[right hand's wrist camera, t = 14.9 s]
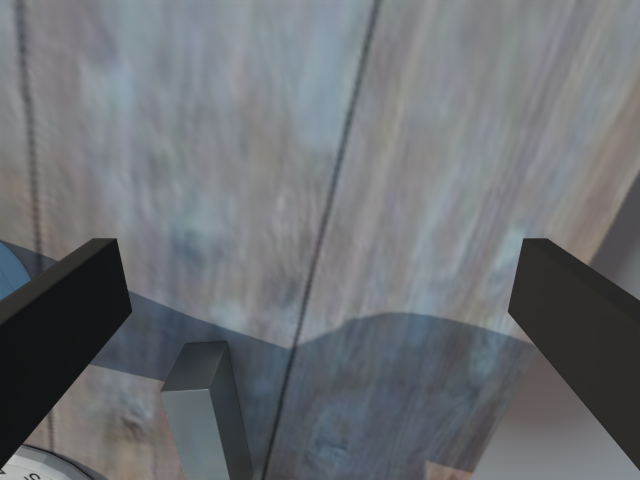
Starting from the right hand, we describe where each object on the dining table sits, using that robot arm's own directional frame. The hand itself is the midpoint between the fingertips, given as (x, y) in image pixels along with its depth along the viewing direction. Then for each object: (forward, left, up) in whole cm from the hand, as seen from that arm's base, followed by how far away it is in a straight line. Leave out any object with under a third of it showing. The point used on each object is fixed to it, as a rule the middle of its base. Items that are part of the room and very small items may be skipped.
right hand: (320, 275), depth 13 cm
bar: (+23, +33, -30) cm, 51 cm away
